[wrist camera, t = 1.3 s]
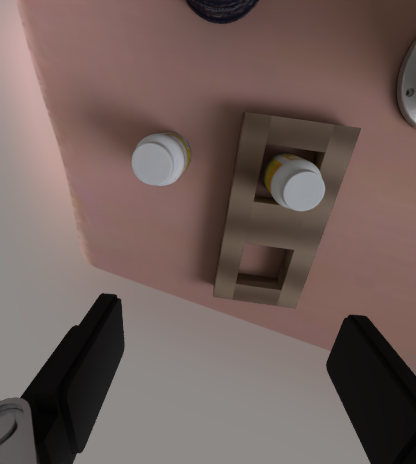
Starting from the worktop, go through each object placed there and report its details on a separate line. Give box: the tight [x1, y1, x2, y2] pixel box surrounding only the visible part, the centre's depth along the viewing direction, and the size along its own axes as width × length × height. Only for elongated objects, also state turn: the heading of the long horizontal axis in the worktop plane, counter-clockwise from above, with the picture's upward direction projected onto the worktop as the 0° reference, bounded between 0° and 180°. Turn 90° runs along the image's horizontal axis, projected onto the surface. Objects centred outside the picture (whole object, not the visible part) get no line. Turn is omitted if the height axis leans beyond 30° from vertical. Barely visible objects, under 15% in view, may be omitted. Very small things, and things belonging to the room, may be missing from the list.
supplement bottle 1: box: [131, 132, 191, 186], centre depth 27 cm, size 5×5×10 cm
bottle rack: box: [213, 112, 361, 309], centre depth 33 cm, size 26×13×3 cm, turn 173°
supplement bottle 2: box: [263, 153, 325, 211], centre depth 27 cm, size 5×5×10 cm
